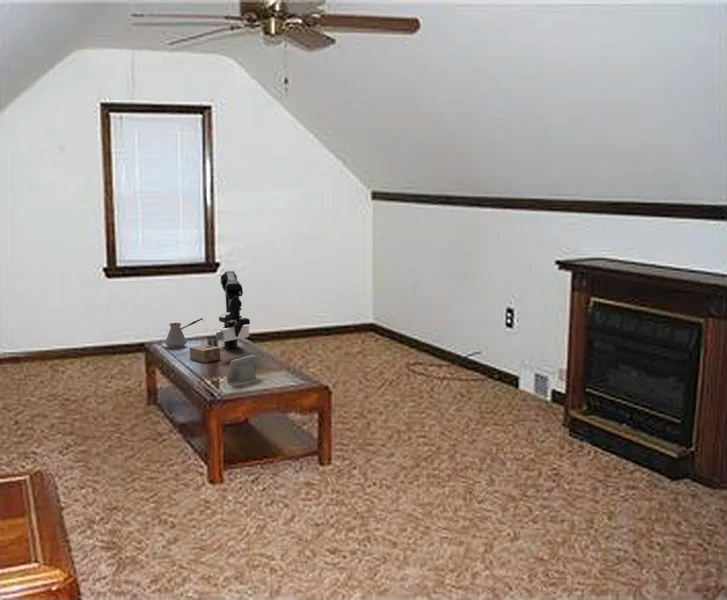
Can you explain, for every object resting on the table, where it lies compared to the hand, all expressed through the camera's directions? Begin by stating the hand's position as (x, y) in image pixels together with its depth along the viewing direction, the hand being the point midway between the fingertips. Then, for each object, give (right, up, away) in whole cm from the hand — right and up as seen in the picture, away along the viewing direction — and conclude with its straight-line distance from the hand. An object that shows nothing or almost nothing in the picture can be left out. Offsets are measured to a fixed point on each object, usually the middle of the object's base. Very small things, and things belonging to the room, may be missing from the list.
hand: (234, 336), depth 410 cm
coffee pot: (-32, -7, +27) cm, 42 cm away
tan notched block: (-14, -12, -4) cm, 19 cm away
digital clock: (+11, -18, -45) cm, 49 cm away
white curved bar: (-1, -2, -1) cm, 2 cm away
